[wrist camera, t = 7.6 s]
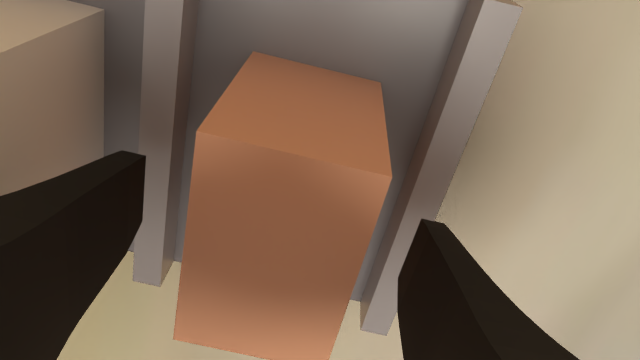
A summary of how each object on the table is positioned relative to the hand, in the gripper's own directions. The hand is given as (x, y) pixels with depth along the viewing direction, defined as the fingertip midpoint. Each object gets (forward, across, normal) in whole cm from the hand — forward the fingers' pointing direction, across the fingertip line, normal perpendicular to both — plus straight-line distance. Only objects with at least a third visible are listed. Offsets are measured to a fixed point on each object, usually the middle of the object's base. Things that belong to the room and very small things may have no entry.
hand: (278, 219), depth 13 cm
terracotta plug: (+4, 0, 0) cm, 4 cm away
